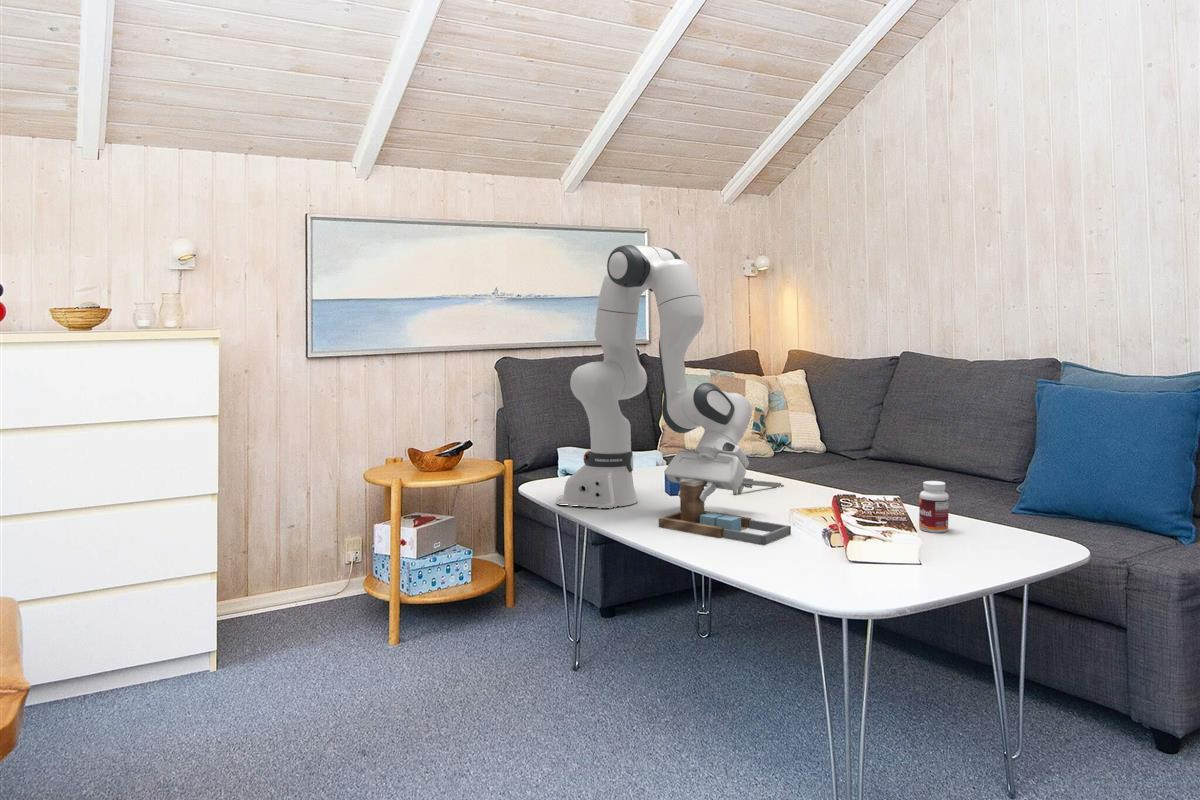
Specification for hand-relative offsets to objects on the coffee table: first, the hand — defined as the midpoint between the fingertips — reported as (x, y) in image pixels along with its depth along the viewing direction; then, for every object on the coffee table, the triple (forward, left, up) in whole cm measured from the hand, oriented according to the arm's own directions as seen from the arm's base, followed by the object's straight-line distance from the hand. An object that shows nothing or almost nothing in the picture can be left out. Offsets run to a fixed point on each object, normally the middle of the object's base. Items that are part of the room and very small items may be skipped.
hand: (690, 498), depth 185 cm
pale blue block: (+5, -2, -6) cm, 8 cm away
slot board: (+3, -1, -8) cm, 8 cm away
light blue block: (+9, -5, -6) cm, 12 cm away
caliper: (+16, +49, -8) cm, 53 cm away
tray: (+15, -8, -7) cm, 19 cm away
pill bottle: (+55, +6, -8) cm, 56 cm away
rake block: (0, +1, -6) cm, 6 cm away
